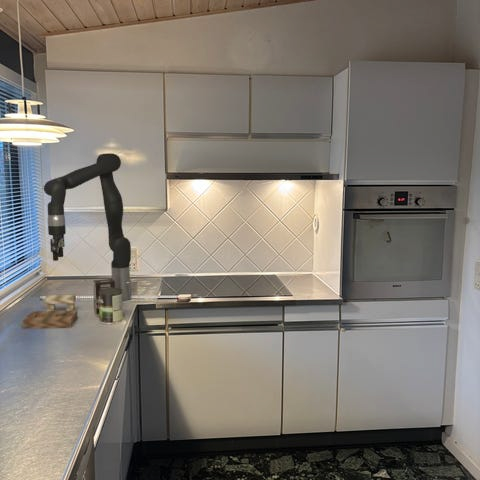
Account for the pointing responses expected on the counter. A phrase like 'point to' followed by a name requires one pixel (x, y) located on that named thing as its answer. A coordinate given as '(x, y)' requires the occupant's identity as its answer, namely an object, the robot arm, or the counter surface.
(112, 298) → the coffee can
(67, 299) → the beige wooden plank
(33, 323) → the brown slotted wooden block
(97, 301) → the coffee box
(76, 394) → the counter surface
